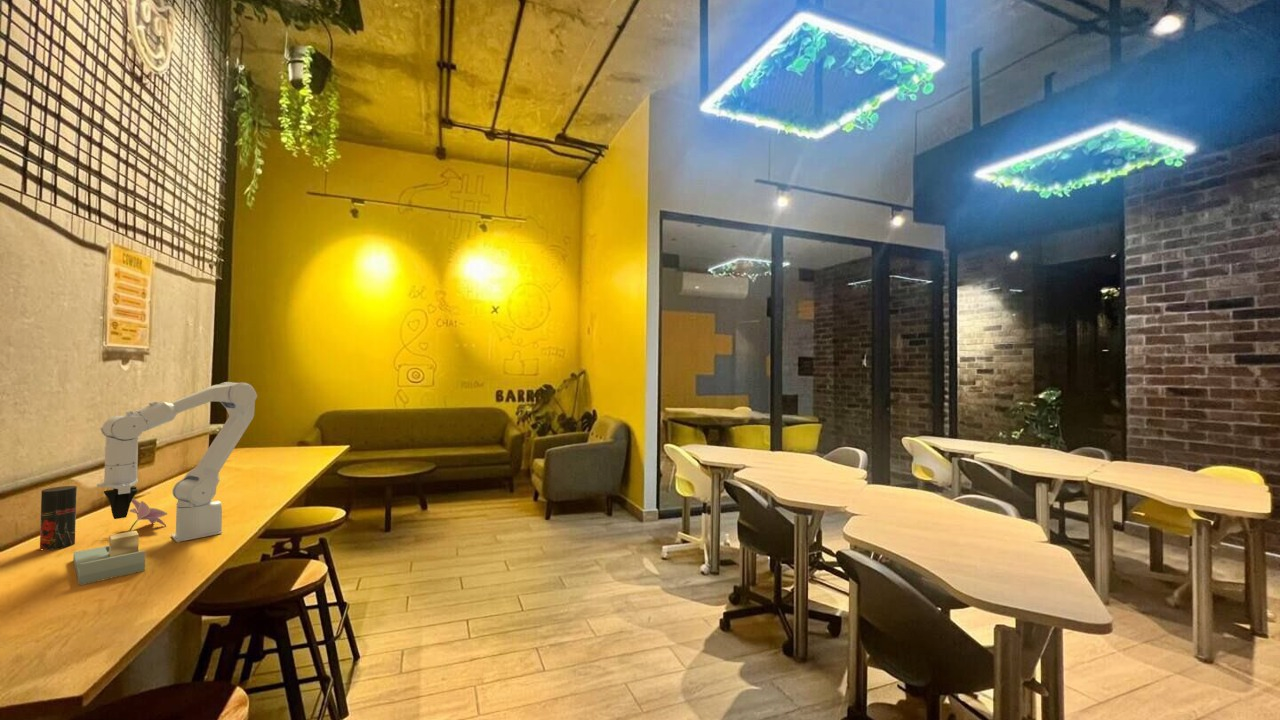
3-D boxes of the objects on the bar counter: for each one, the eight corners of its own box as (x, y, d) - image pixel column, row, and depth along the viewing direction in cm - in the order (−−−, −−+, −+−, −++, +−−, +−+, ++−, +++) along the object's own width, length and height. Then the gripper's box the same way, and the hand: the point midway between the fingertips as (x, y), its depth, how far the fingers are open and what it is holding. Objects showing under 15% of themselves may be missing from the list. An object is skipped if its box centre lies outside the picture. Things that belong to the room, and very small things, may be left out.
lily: (165, 535, 140) (182, 501, 145) (109, 528, 132) (129, 492, 137) (155, 540, 146) (172, 507, 151) (102, 533, 139) (121, 499, 144)
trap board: (132, 548, 127) (132, 531, 127) (144, 570, 114) (145, 551, 114) (73, 560, 119) (73, 541, 119) (79, 585, 106) (79, 564, 106)
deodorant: (80, 543, 130) (81, 487, 130) (47, 551, 124) (48, 492, 125) (67, 541, 132) (69, 485, 132) (34, 548, 126) (36, 490, 126)
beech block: (135, 548, 122) (136, 530, 122) (138, 553, 119) (138, 534, 119) (109, 553, 118) (109, 535, 118) (111, 558, 116) (111, 539, 116)
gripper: (95, 462, 125) (93, 515, 125) (100, 470, 116) (99, 527, 116) (134, 458, 131) (133, 509, 130) (142, 465, 122) (141, 520, 121)
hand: (119, 517), depth 124 cm, fingers closed
